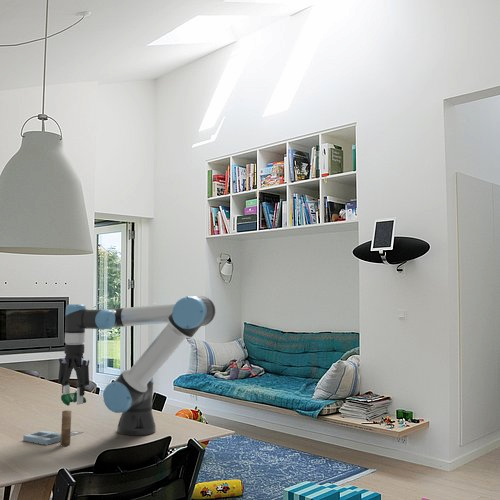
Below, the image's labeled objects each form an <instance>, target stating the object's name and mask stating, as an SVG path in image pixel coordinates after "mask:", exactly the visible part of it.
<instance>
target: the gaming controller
mask: <svg viewBox="0 0 500 500" xmlns="http://www.w3.org/2000/svg"><path fill="white" fill-rule="evenodd" d="M60 399H61V401H62V403H63V404H64V405H65V406H70V405H71V404H70V403H77V390H75V391H74V392H71V393H70V392H69V394H66V393H63V394H62V393H61V396H60ZM86 403H87V399H86V397H84V396H83V404H86Z"/></svg>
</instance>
